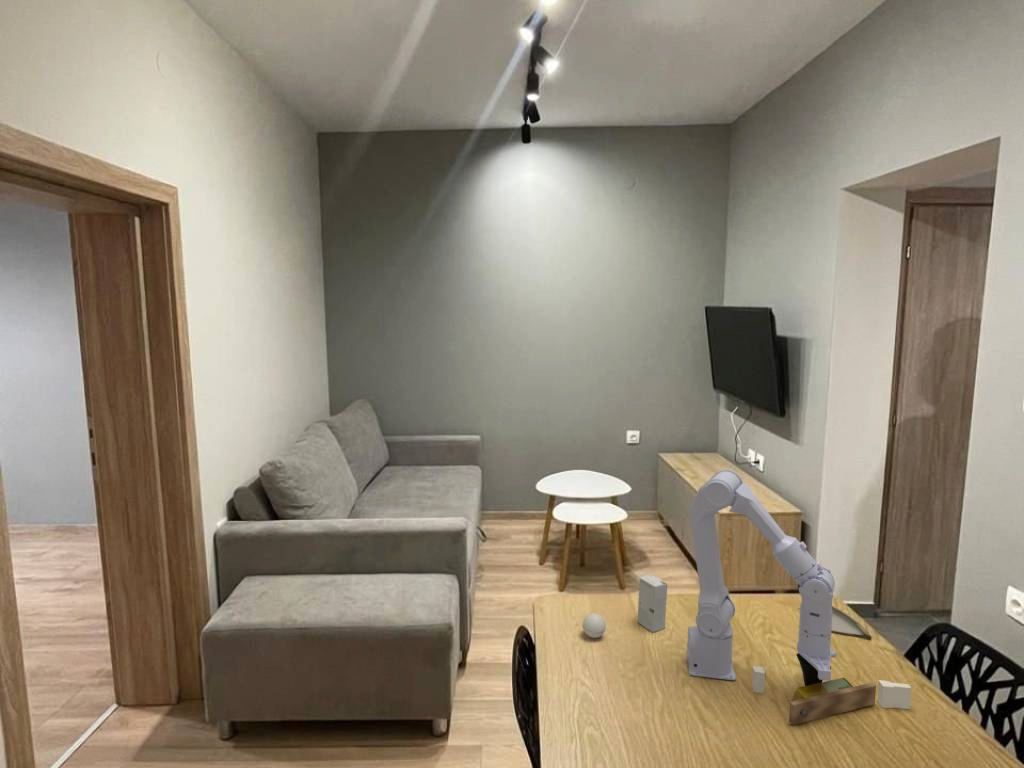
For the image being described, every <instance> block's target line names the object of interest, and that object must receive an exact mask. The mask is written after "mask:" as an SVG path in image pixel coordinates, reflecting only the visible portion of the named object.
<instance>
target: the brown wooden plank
mask: <svg viewBox="0 0 1024 768" xmlns="http://www.w3.org/2000/svg"><path fill="white" fill-rule="evenodd" d="M876 692H877V685H876V684H874V683H873V682H868V683H865V684H861V685H857V686H856V685H855V686H853V687H851V688H847V689H842V690H838V691H834V692H830V693H826V694H821V695H817V696H813V697H809V698H804V699H800V700H796V701H792V700H791V701H789V708H788V709H789V711H788V712H789V713H788V722H789V723H790V724H791V725H793V726H794V725H798V724H802V723H806V722H810V721H814V720H817V719H822V718H826V717H830V716H833V715H838V714H842V713H847V712H850V711H854V710H857V709H862V708H866V707H869V706H874V705H876V696H877V695H876V694H877V693H876Z"/></svg>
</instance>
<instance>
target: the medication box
mask: <svg viewBox="0 0 1024 768" xmlns="http://www.w3.org/2000/svg"><path fill="white" fill-rule="evenodd" d="M851 687H854V686H853V685H852V684H851V683H850V681H848V679H846V678H845V677H841V678H835V679H831V681H828V680H825V681H822V682H821V683H816V684H812V685H807V686H805V685H804V686H799V687H796V690H795V693H794V694H793V696H792V700H791V702H792V701H796V700H800V699H804V698H809V697H813V696H817V695H821V694H826V693H830V692H834V691H838V690H842V689H847V688H851Z"/></svg>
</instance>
